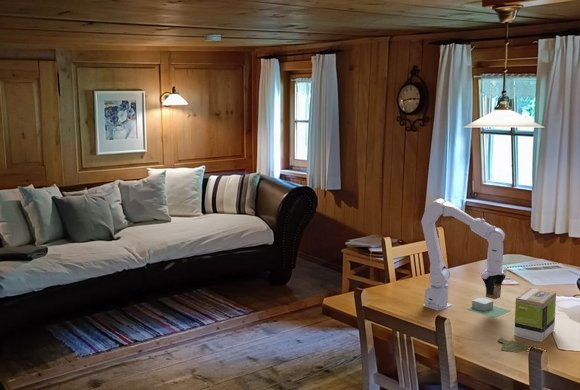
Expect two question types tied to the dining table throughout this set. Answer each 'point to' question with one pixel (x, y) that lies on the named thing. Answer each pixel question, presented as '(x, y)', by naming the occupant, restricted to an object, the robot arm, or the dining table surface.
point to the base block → (482, 304)
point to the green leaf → (513, 346)
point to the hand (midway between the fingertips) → (492, 293)
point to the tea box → (535, 314)
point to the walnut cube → (495, 292)
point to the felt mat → (490, 311)
